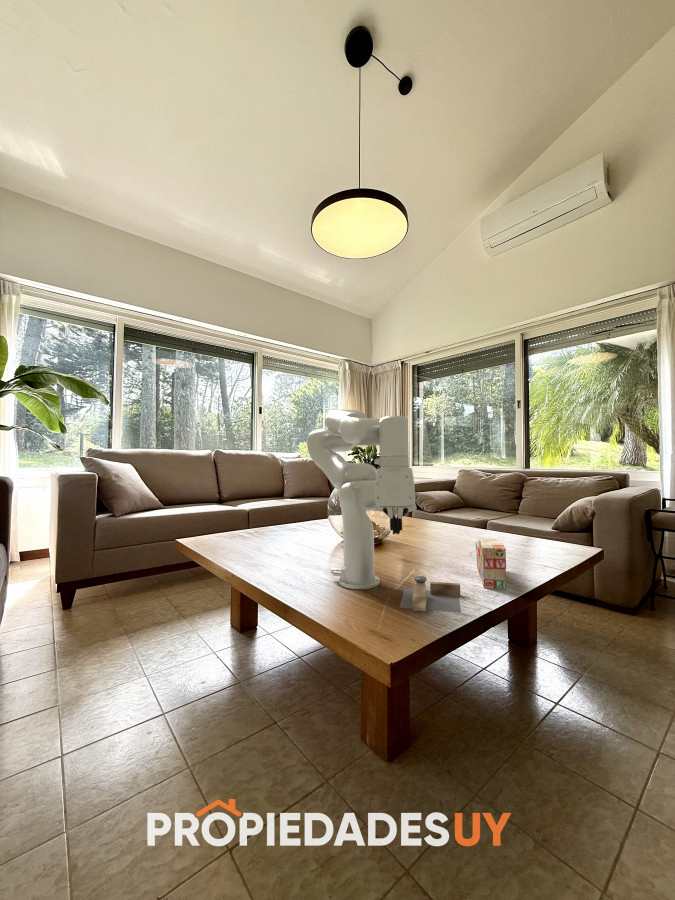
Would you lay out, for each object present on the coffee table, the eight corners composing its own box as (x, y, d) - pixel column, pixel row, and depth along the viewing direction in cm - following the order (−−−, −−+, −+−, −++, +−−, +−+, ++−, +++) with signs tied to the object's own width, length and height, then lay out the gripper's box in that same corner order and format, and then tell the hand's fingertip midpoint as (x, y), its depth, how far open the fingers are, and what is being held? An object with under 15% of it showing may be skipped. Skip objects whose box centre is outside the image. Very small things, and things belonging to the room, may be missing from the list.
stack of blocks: (476, 568, 129) (475, 532, 130) (495, 569, 128) (494, 532, 128) (483, 589, 109) (482, 546, 109) (507, 591, 107) (505, 547, 107)
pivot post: (414, 597, 103) (414, 579, 103) (415, 593, 106) (414, 575, 106) (426, 598, 102) (426, 580, 102) (427, 594, 105) (426, 576, 105)
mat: (399, 608, 96) (399, 607, 96) (404, 589, 110) (404, 588, 110) (460, 613, 93) (460, 612, 93) (458, 593, 106) (458, 592, 106)
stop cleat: (430, 594, 105) (430, 583, 105) (430, 592, 107) (430, 581, 107) (460, 596, 103) (460, 585, 103) (460, 594, 105) (459, 583, 105)
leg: (413, 610, 94) (412, 596, 94) (415, 597, 103) (414, 584, 103) (425, 611, 93) (424, 597, 93) (426, 598, 102) (426, 585, 102)
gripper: (363, 464, 97) (365, 535, 97) (422, 462, 93) (425, 537, 93) (368, 463, 104) (370, 529, 104) (424, 462, 100) (426, 531, 100)
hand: (396, 533), depth 98 cm, fingers closed
